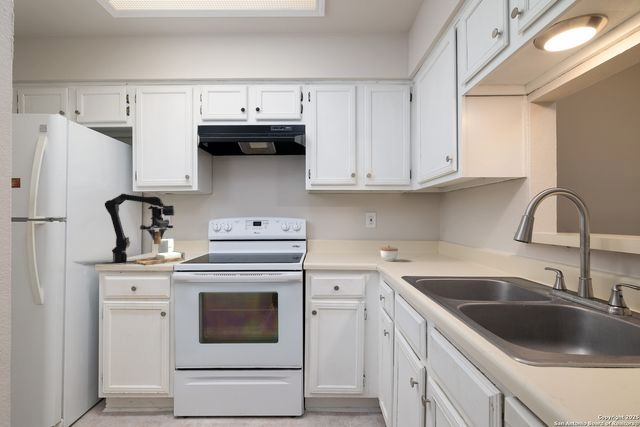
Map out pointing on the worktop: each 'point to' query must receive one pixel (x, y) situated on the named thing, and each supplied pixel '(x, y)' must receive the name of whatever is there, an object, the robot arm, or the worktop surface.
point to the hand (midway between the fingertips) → (157, 239)
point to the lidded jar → (389, 253)
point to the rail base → (155, 261)
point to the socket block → (167, 256)
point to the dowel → (157, 237)
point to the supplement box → (165, 246)
